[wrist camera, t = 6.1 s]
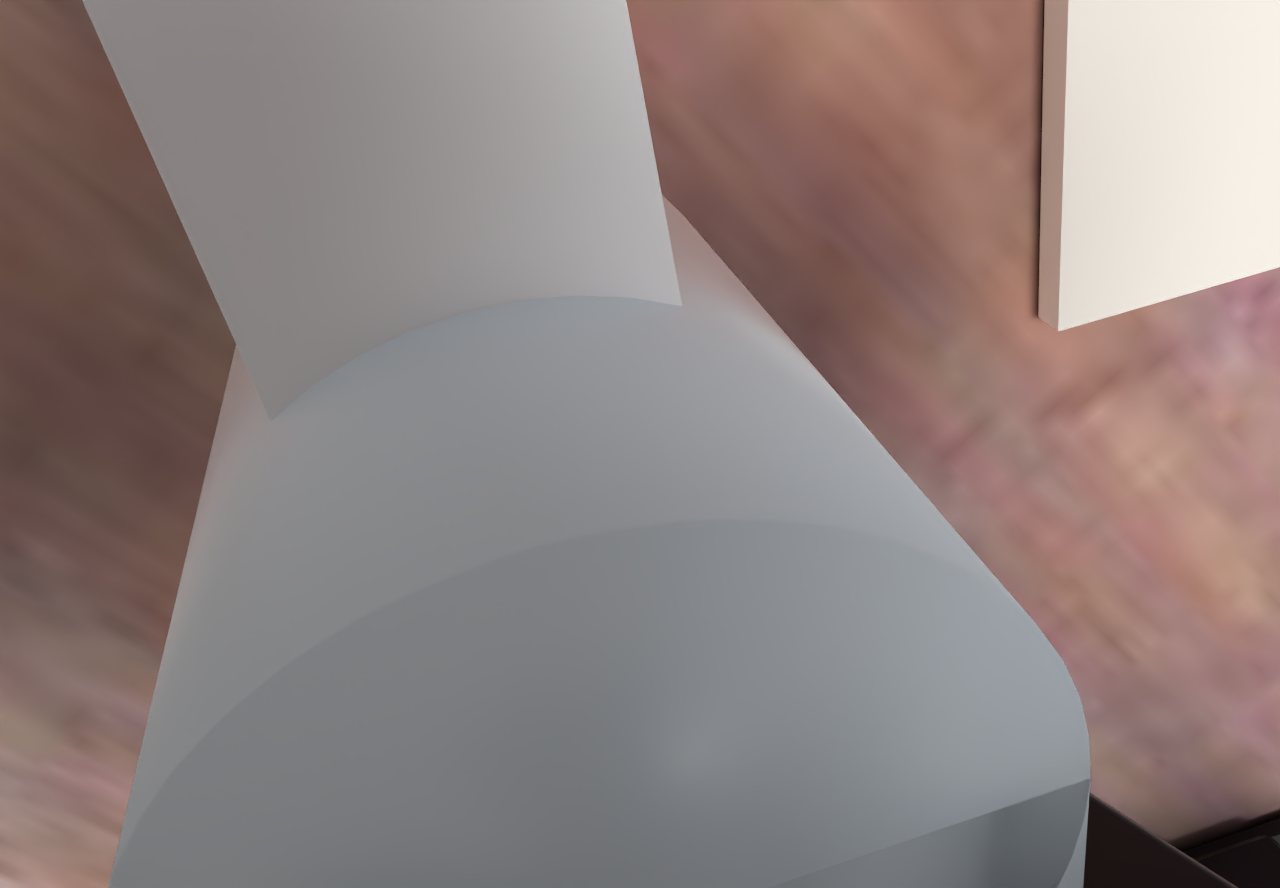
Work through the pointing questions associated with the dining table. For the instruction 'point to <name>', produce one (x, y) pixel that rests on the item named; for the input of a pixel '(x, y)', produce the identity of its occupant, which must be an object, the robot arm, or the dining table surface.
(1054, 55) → the coaster pad
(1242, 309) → the dining table surface
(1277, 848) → the robot arm
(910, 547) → the connector casing
